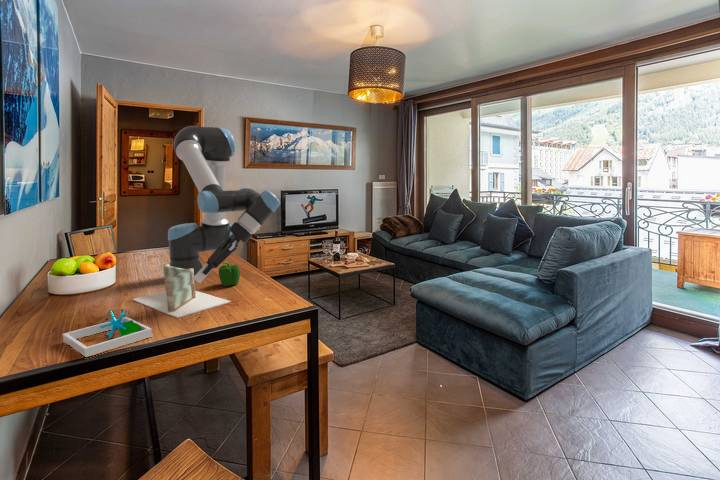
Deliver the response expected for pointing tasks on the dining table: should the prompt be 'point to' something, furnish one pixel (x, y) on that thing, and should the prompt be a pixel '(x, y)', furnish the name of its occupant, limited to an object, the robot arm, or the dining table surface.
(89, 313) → the dining table surface
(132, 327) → the stick construction toy
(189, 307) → the card
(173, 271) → the fixed fence section
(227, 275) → the bell pepper
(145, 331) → the grey storage tray
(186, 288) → the folding fence panel
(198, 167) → the robot arm
